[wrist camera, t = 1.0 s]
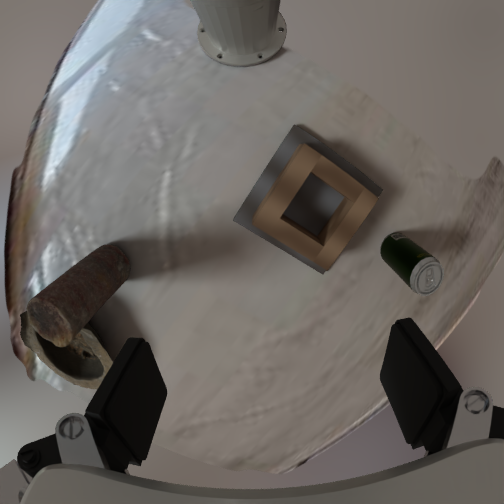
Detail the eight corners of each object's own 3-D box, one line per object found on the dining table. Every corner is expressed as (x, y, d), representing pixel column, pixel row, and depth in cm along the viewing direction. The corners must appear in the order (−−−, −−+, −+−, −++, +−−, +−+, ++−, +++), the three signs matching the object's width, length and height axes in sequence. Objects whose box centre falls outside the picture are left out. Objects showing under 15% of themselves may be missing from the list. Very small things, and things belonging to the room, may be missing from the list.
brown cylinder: (107, 232, 41) (30, 287, 22) (140, 259, 42) (76, 330, 24) (91, 263, 43) (22, 324, 24) (121, 289, 45) (63, 362, 26)
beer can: (376, 236, 40) (412, 267, 29) (404, 227, 39) (445, 254, 28) (380, 266, 42) (413, 303, 31) (407, 256, 41) (444, 289, 30)
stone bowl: (40, 263, 43) (14, 284, 35) (140, 321, 49) (126, 352, 41) (36, 339, 51) (19, 361, 42) (116, 385, 57) (106, 412, 48)
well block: (293, 125, 35) (299, 121, 30) (380, 188, 37) (396, 195, 32) (233, 218, 40) (230, 229, 35) (321, 271, 42) (329, 288, 37)
